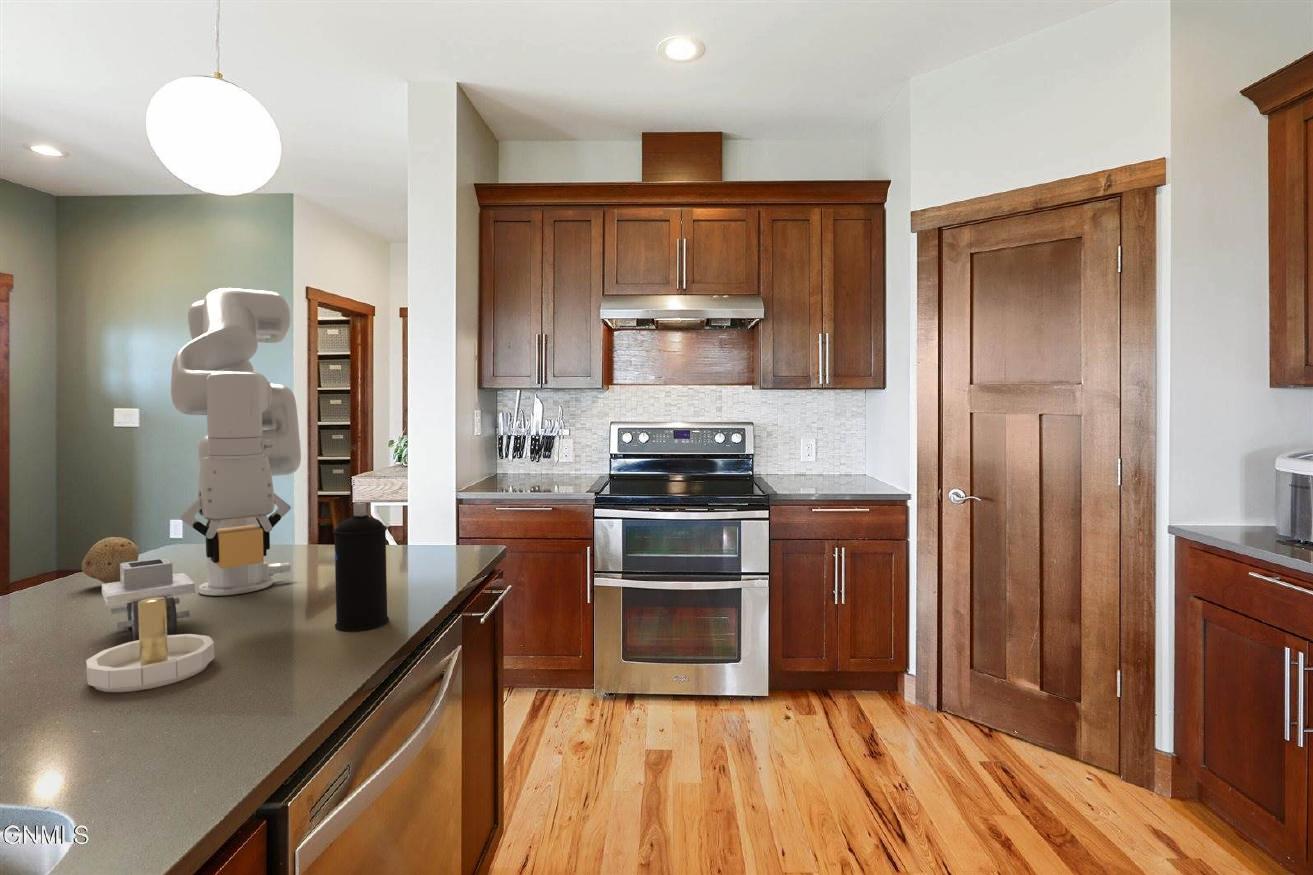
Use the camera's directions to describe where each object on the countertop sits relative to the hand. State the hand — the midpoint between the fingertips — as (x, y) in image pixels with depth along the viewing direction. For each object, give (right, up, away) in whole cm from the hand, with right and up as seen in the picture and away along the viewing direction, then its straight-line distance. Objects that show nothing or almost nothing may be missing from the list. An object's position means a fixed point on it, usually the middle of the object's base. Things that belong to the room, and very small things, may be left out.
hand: (238, 556), depth 109 cm
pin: (+1, -11, -19) cm, 22 cm away
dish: (+1, -12, -19) cm, 23 cm away
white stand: (-13, -12, -2) cm, 17 cm away
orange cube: (0, -1, 0) cm, 1 cm away
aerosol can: (+20, -11, +1) cm, 23 cm away
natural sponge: (-42, -11, +27) cm, 51 cm away
